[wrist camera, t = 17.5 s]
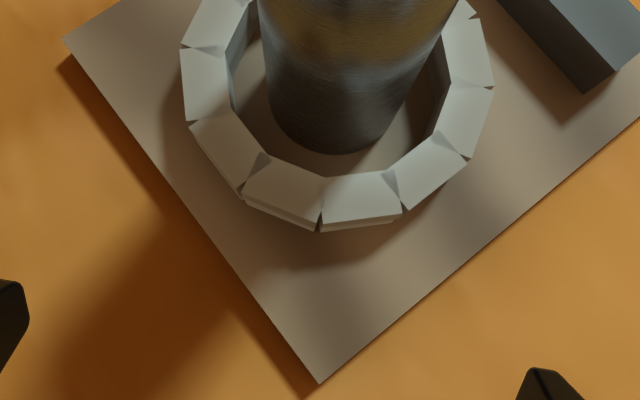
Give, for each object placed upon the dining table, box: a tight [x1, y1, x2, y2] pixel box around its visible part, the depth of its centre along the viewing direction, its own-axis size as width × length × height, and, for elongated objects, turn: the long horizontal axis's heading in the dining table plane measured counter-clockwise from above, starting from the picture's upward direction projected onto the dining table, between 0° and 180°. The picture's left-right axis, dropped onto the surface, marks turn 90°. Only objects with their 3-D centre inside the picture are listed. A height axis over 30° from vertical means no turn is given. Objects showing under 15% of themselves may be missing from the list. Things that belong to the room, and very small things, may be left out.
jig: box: [61, 0, 640, 384], centre depth 18 cm, size 18×16×3 cm
